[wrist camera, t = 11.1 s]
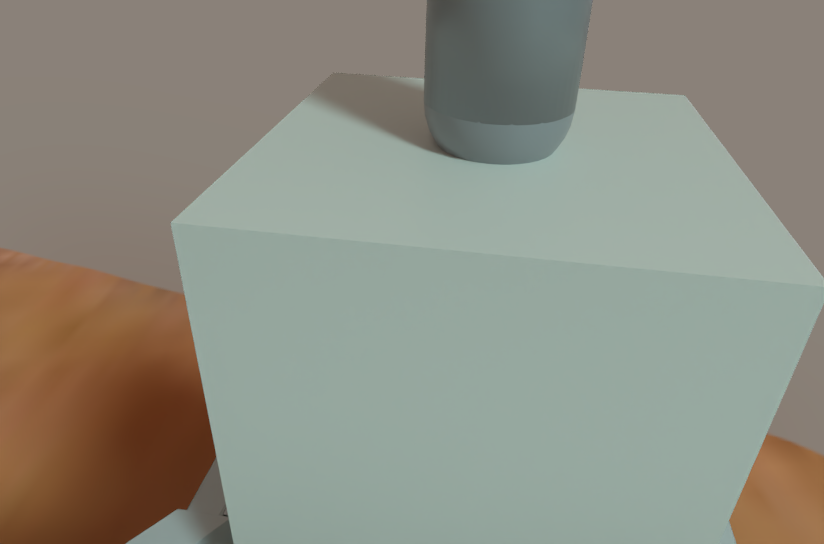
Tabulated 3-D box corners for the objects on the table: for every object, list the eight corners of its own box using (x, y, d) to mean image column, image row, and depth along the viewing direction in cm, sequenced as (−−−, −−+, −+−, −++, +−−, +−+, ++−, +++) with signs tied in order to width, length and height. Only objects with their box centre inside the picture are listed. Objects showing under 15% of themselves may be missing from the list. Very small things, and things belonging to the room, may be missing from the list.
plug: (534, 965, 12) (1211, -584, 2) (306, 911, 12) (24, -518, 3) (533, 664, 16) (747, -260, 7) (366, 635, 17) (344, -259, 7)
